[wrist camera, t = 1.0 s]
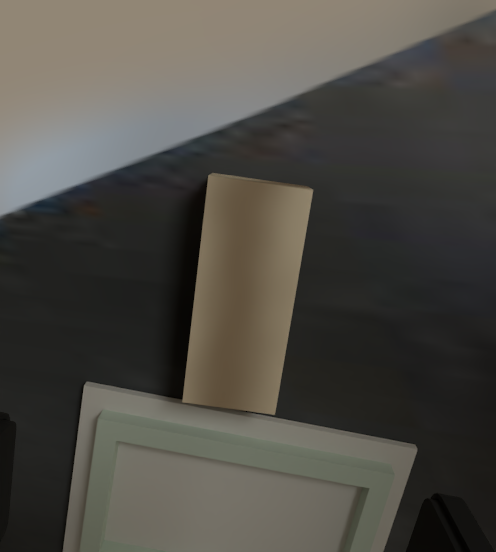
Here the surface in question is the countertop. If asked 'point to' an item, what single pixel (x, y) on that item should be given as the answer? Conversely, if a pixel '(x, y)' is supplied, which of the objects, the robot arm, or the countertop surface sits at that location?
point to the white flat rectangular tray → (225, 480)
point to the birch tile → (245, 291)
